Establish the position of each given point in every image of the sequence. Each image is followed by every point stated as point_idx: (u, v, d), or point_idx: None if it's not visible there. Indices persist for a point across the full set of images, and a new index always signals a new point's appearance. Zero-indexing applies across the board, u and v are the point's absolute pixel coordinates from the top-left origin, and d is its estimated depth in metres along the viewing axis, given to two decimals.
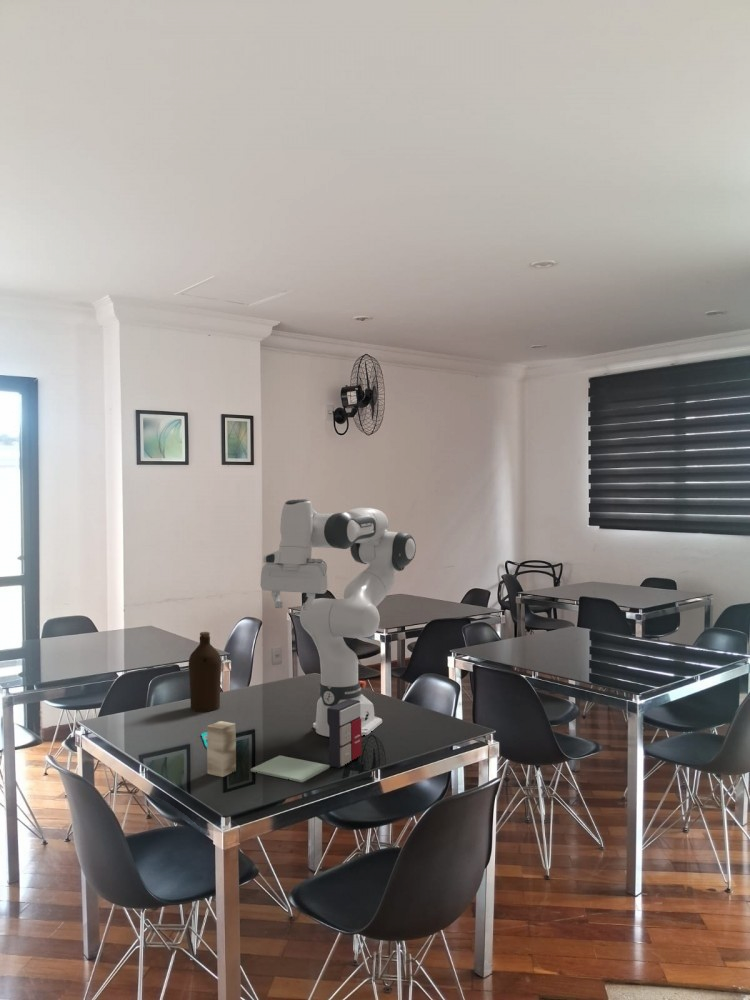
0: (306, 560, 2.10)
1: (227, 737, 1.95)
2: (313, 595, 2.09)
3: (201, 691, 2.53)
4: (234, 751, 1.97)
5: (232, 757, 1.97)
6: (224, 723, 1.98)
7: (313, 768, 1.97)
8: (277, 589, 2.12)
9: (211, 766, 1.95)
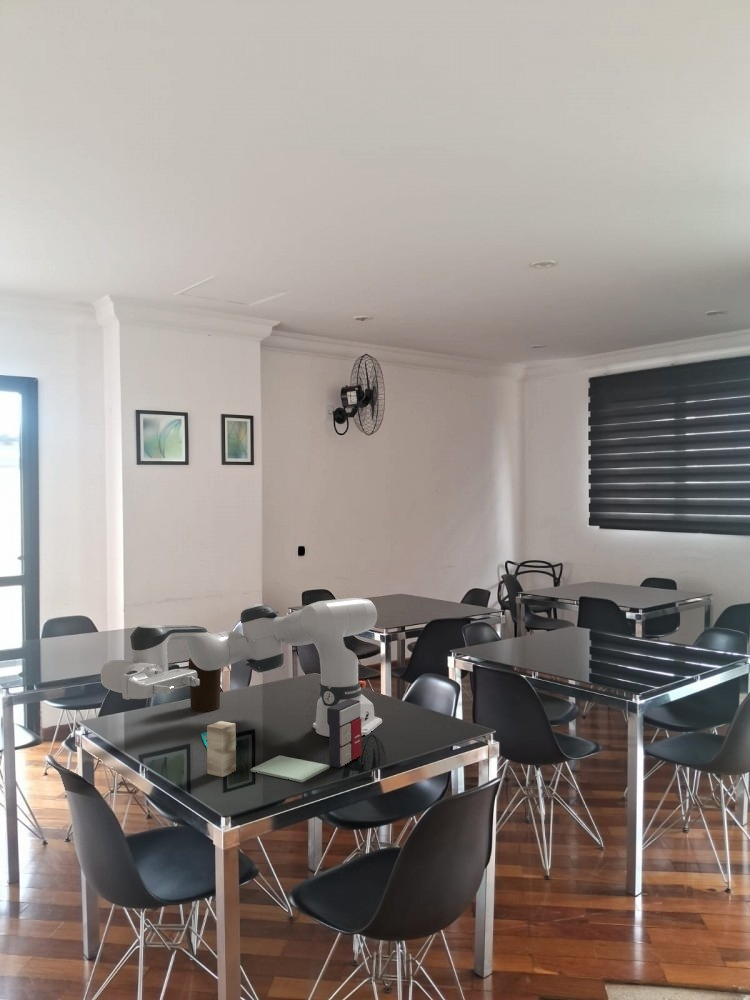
0: None
1: (227, 737, 1.95)
2: None
3: (201, 691, 2.53)
4: (234, 751, 1.97)
5: (232, 757, 1.97)
6: (224, 723, 1.98)
7: (313, 768, 1.97)
8: (159, 680, 2.03)
9: (211, 766, 1.95)
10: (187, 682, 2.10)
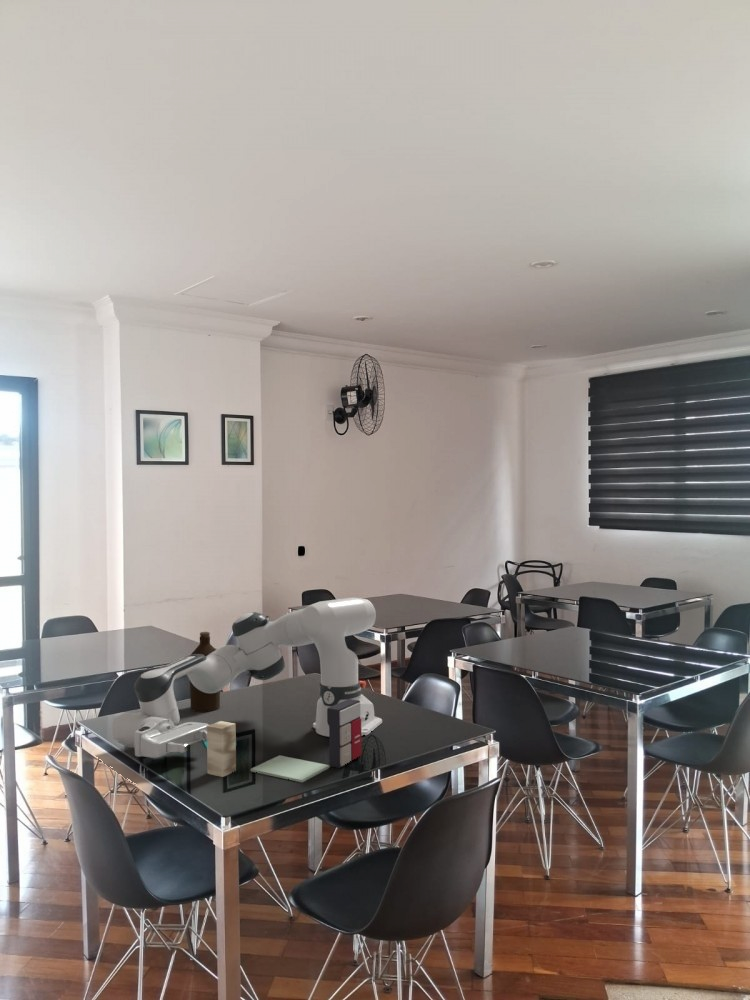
0: None
1: (227, 737, 1.95)
2: None
3: (201, 691, 2.53)
4: (234, 751, 1.97)
5: (232, 757, 1.97)
6: (224, 723, 1.98)
7: (313, 768, 1.97)
8: (172, 737, 1.99)
9: (211, 766, 1.95)
10: (200, 737, 2.07)
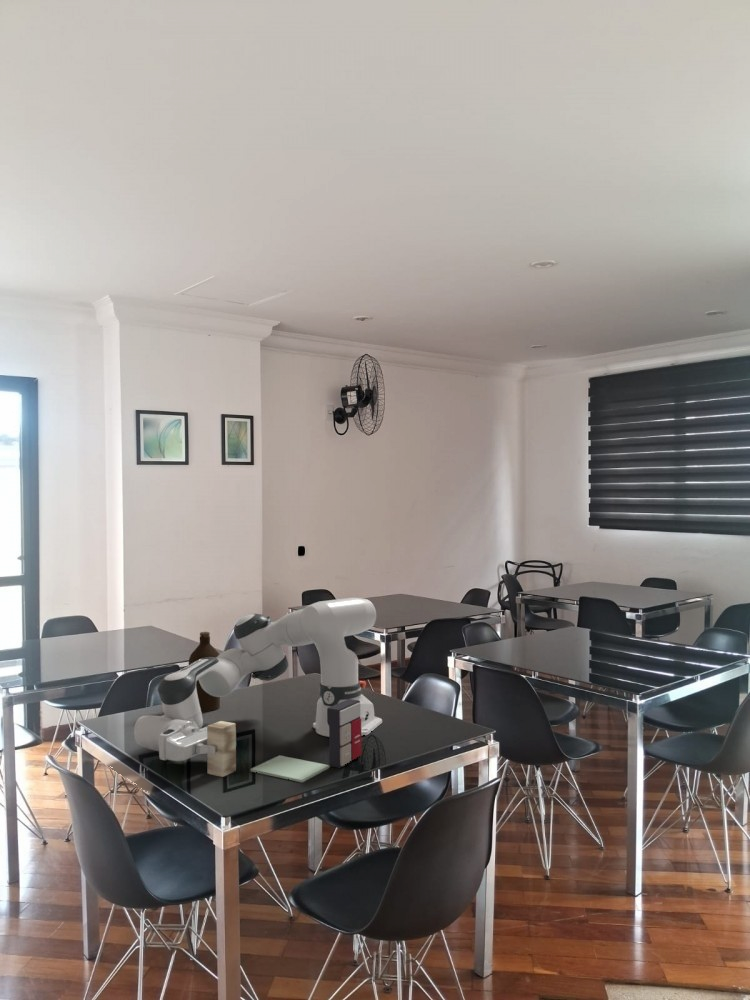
0: None
1: (227, 737, 1.95)
2: None
3: (201, 691, 2.53)
4: (234, 751, 1.97)
5: (232, 757, 1.97)
6: (224, 723, 1.98)
7: (313, 768, 1.97)
8: (197, 740, 1.96)
9: (211, 766, 1.95)
10: None
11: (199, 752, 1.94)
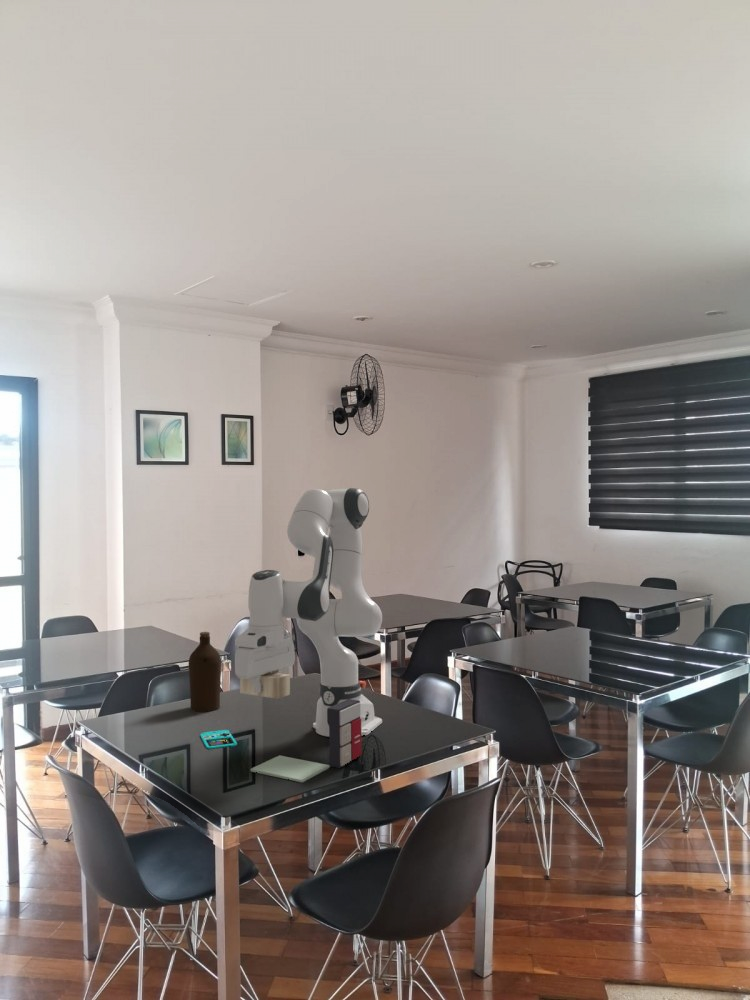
0: None
1: None
2: None
3: (201, 691, 2.53)
4: None
5: None
6: (286, 685, 1.96)
7: (313, 768, 1.97)
8: (261, 673, 1.93)
9: (246, 679, 1.98)
10: None
11: (251, 678, 1.94)
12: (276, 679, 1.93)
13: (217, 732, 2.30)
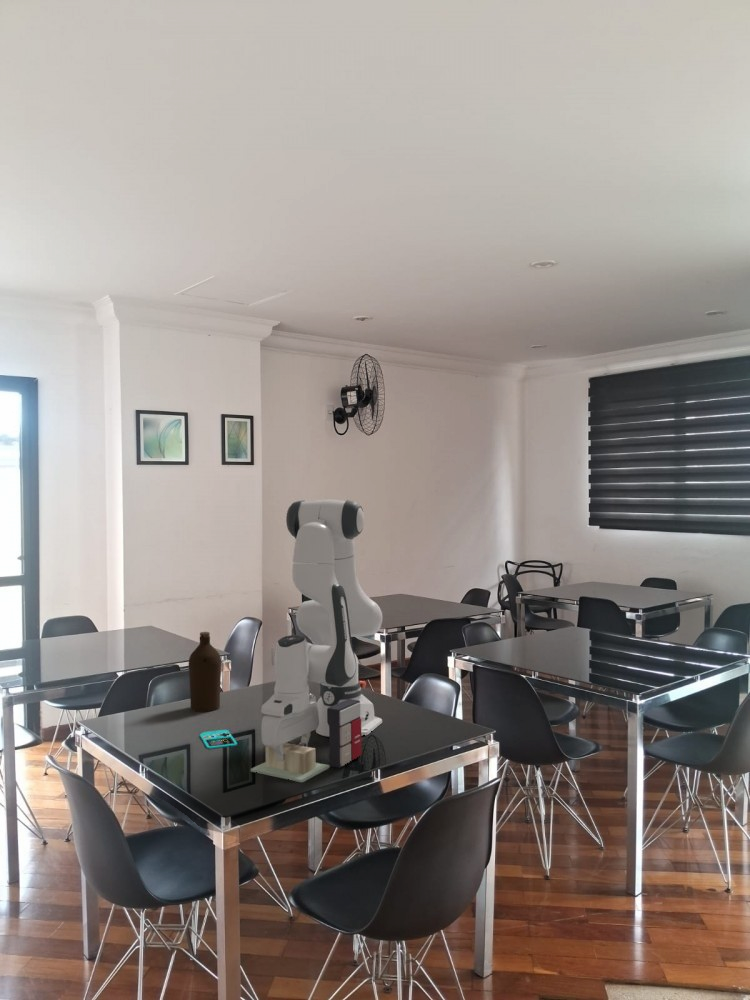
0: None
1: None
2: None
3: (201, 691, 2.53)
4: None
5: None
6: (312, 759, 1.97)
7: None
8: (288, 740, 1.94)
9: (271, 753, 1.98)
10: None
11: None
12: (302, 754, 1.94)
13: (217, 732, 2.30)
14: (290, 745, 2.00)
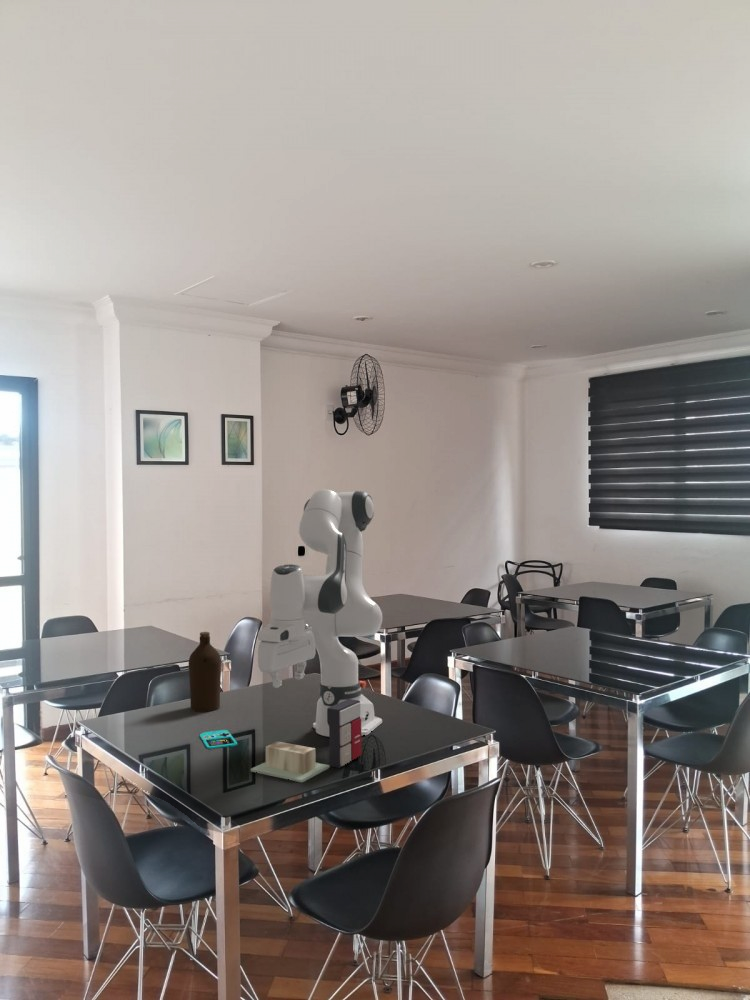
0: None
1: None
2: None
3: (201, 691, 2.53)
4: None
5: None
6: (312, 759, 1.97)
7: None
8: (284, 666, 1.95)
9: (271, 753, 1.98)
10: None
11: (270, 673, 1.95)
12: (302, 754, 1.94)
13: (216, 732, 2.30)
14: (290, 745, 2.00)
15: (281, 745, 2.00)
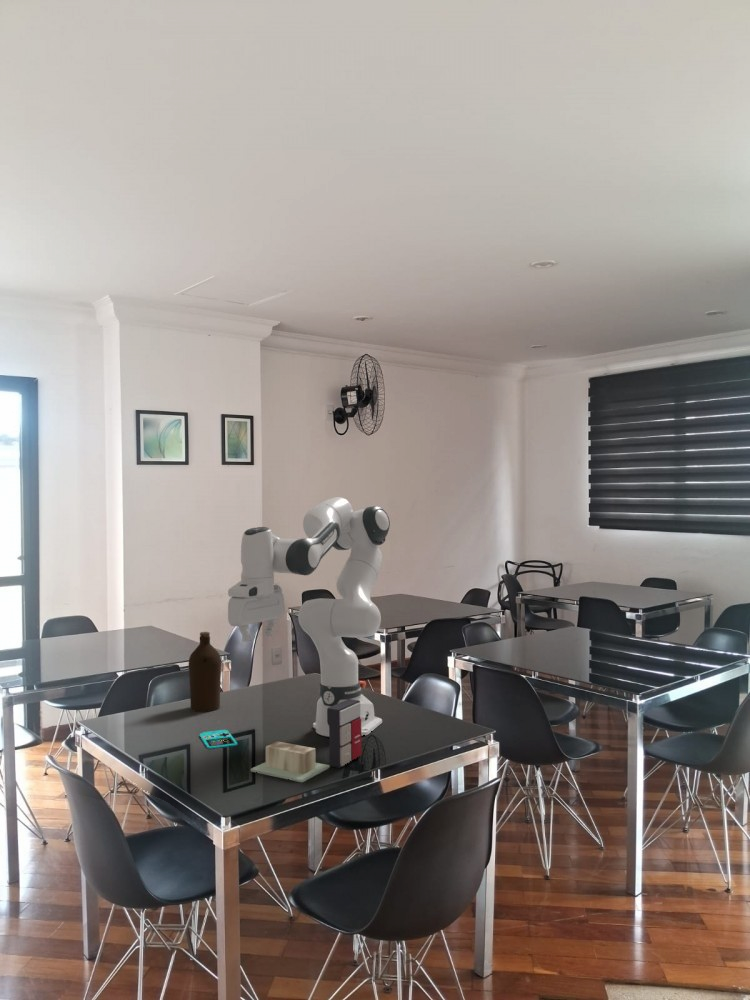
0: None
1: None
2: None
3: (201, 691, 2.53)
4: None
5: None
6: (312, 759, 1.97)
7: None
8: (253, 622, 2.07)
9: (271, 753, 1.98)
10: (268, 620, 2.16)
11: (240, 628, 2.06)
12: (302, 754, 1.94)
13: (216, 732, 2.30)
14: (290, 745, 2.00)
15: (281, 745, 2.00)
